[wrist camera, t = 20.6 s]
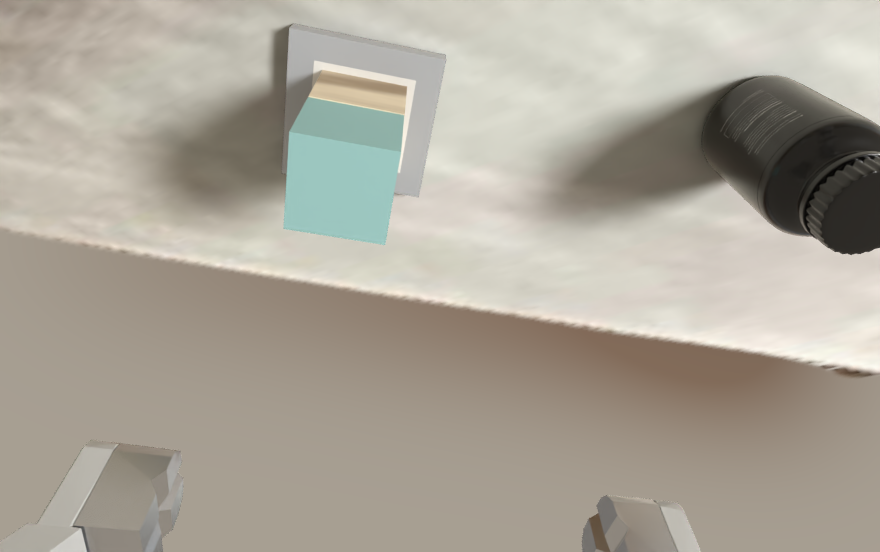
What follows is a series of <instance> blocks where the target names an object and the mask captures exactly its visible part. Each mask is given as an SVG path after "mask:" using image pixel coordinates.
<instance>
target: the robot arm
mask: <svg viewBox="0 0 880 552" xmlns="http://www.w3.org/2000/svg"><path fill="white" fill-rule="evenodd" d="M181 463H182V459H181V451H177V450H170V449H162V448H154V447H146V446H138V445H130V444H122V443H115V442H106V441H96V440H90V441H89V442H88V443H87V444H86V445H85V446H84V447H83V448H82V450H81V451H80V453H79V455H78V456H77V458H76V459H75V461H74V463H73V464H72V466H71V468H70V469H69V471H68V473H67V474H66V476H65V478H64V479H63V481H62V482H61V484H60V486H59V487H58V489H57V491H56V492H55V494H54V496H53V497H52V499H51V500H50V502H49V504H48V505H47V507H46V509H45V510H44V512H43V514H42V515H41V517H40V519H39V520H38V522H37V523H36V524H34V523H27V524H25V525H24V526H22V527H20V528H19V529H18V530H16V531H15V532H13V533H12V534H10V535H9V536H7V537H6V538H4V539H3V540H1V541H0V552H163V545H162V538H163V537H164V536H165V535H166V534H168V533H169V532H170V531H172V530H173V527H174V525H175V522H176V519H177V516H178V513H179V510H180V505H181V502H182V497H183V487H184V486H183V477H182V476H181V475H180V474H179V473H178V470H179V468H180V466H181ZM597 509H598V514H596V515H595V516H593V517H591V518H589V519H588V521H587V523H586V525H585V527H584V530H583V537H582V550H583V552H701V550H700V548H699V546H698V543H697V541H696V538H695V536H694V534H693V532H692V529H691V527H690V524H689V522H688V519H687V517H686V515H685V512H684V510H683V508H682V507H681V506H680V505H679V504H678V503H676V502H668V501H655V500H651V499H644V498H633V497H622V496H611V495H606V496H604V497H602V498H601V499H600V500H599V502H598V504H597Z"/></svg>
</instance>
